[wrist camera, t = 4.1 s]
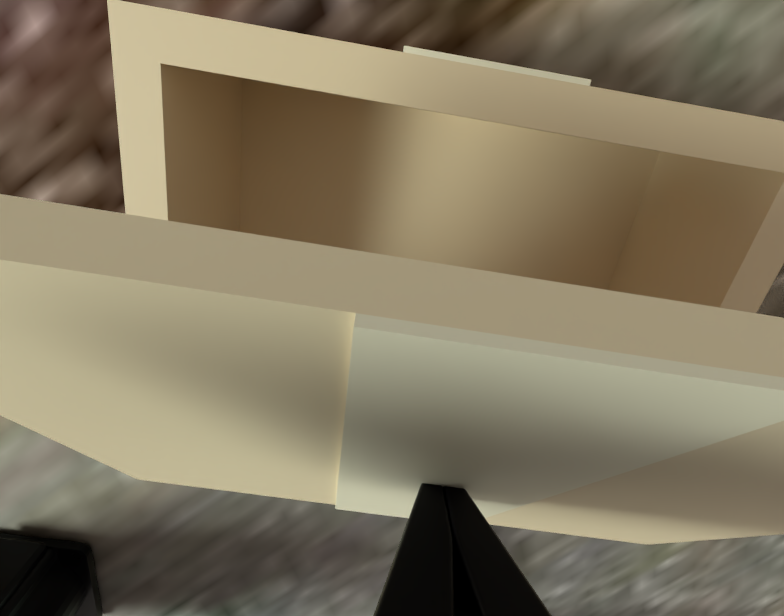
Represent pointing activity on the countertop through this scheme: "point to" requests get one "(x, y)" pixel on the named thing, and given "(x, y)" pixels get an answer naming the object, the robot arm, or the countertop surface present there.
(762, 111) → the countertop surface
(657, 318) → the lid
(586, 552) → the countertop surface
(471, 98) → the cardboard box
